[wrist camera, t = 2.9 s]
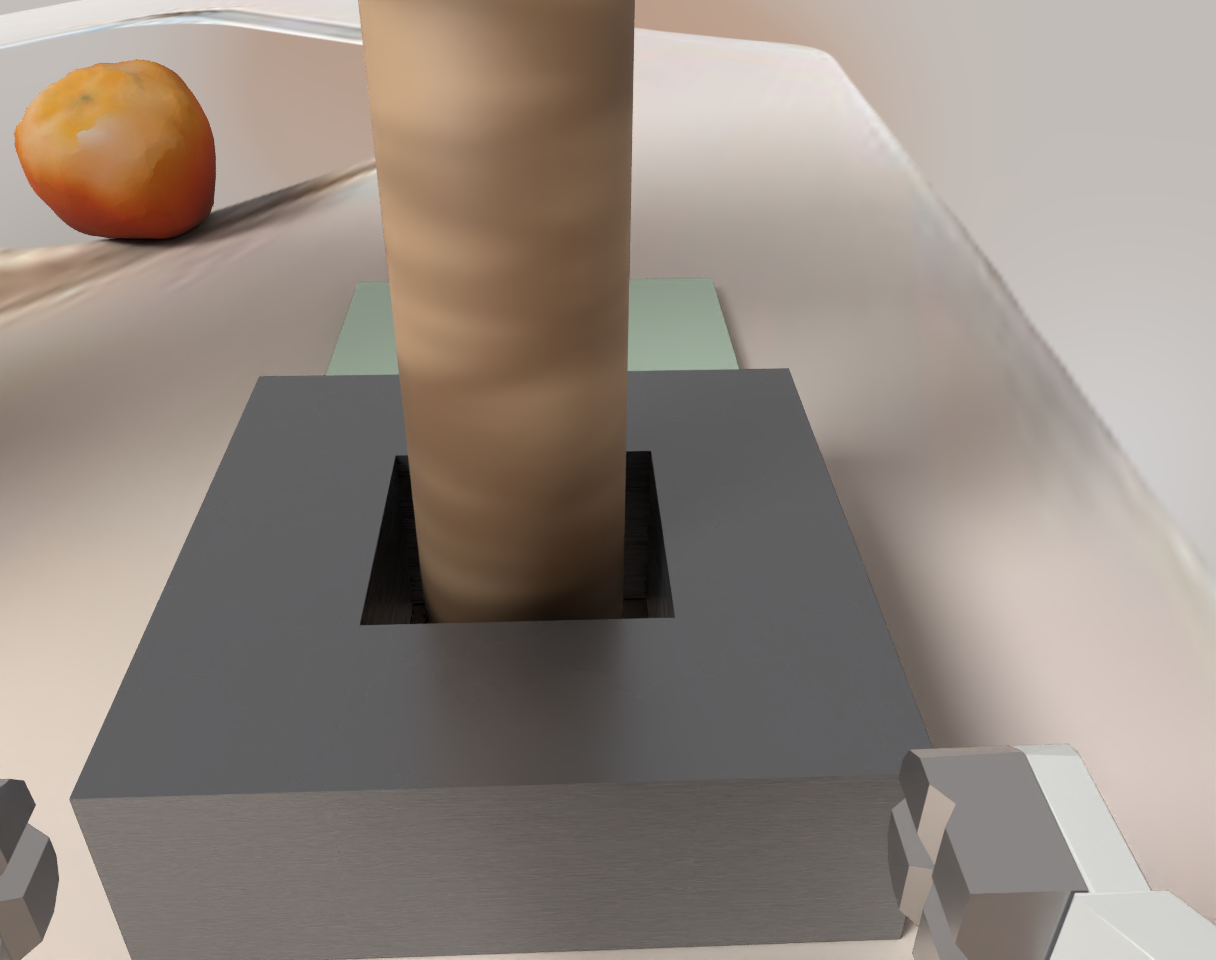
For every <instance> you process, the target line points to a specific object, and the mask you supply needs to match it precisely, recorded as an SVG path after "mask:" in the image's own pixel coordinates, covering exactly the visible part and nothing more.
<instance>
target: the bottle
mask: <svg viewBox="0 0 1216 960" xmlns="http://www.w3.org/2000/svg"><path fill="white" fill-rule="evenodd" d="M358 3H359V12H360V21H361V31H362V40H363V49H364V58H365V67H366V76H367V85H368V95H369V104H370V113H371V122H372V131H373V140H374V149H375V158H376V168H377V177H378V186H379V195H380V204H381V213H382V222H383V232H384V241H385V250H386V259H387V268H388V277H389V286H390V296H391V305H392V314H393V323H394V332H395V341H396V350H397V360H398V369H399V378H400V387H401V396H402V405H403V414H404V423H405V433H406V442H407V451H408V460H409V469H410V478H411V487H412V497H413V506H414V515H415V524H416V533H417V542H418V551H419V561H420V570H421V579H422V588H423V597H424V606H425V615H426V624H436V623H477V622H518V621H559V620H600V619H623V586H624V534H625V481H626V429H627V377H628V324H629V272H630V219H631V167H632V114H633V62H634V10H635V9H634V8H635V6H634V5H635V0H358Z"/></svg>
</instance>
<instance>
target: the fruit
mask: <svg viewBox="0 0 1216 960" xmlns="http://www.w3.org/2000/svg"><path fill="white" fill-rule="evenodd" d="M14 135H15V148H16V151H17V154H18V157H19V160H20V162H21V165H22V168H23V170H24V173H25V175H26V177H27V179H28V181H29V183H30V185H31V187H32V188H33V190H34V191H35V192H36V194H37V195H38V196H39V197H40V198H41V199H42V200H43V201H44V202H45V203H46V204H47V205H48V206H49V207H50V208H51V209H52V210H53V211H54V212H55V213H56V215H57V216H58V217H59V218H60V219H62V220H63V221H64V222H65V223H66V224H67V225H69V226H70V227H72V228H73V229H75V230H77V231H79V232H82V233H84V234H88V235H92V236H100V237H106V238H152V239H168V238H172V237H175V236H179V235H181V234H183V233H185V232H187V231H188V230H190V229H191V228H193V227H195V226H196V225H198V224H199V223H201V222H202V221H203V220H204V219H205V218H206V217H208V216H209V214H210V212H211V209H212V206H213V204H214V191H215V179H216V156H215V146H214V138H213V134H212V131H211V127H210V124H209V122H208V119H207V117H206V115H205V113H204V111H203V109H202V108H201V106H200V104H199V102H198V101H197V99H196V98H195V96H194V95H193V93H192V92H191V91H190V89H189V88H188V87H187V85H186V84H185V83H184V81H183V80H182V79H181V78H180V77H179V76H178V75H177V74H176V73H175V72H173V71H172V70H170V69H168V68H167V67H165V66H163V65H160V64H158V63H155V62H150V61H145V60H133V61H127V62H119V63H99V64H95V65H93V66H91V67H87V68H82V69H76V70H74V71H72V72H70V73H68V74H67V75H66V76H65V77H64V78H62V79H61V80H59V81H57V82H55V83H53V84H51V85H50V86H48V87H47V88H46V89H44V90H43V91H42V92H41V93H39V95H38V96H37V97H36V98H35V99H34V101H33V102H32V103H31V104H30V105H29V107H27V108H26V111H25V114H24V117H23V119H22V121H21V122H20V123H19V124H18V125H17V126H16V129H15V133H14Z"/></svg>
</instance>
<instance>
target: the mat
mask: <svg viewBox="0 0 1216 960" xmlns="http://www.w3.org/2000/svg"><path fill="white" fill-rule="evenodd" d="M723 369H739V367H738V363H737V360H736V357H735V353H734V350H733V347H732V344H731V340H730V337H729V334H728V330H727V327H726V324H725V320H724V317H723V314H722V310H721V307H720V304H719V301H718V297H717V294H716V291H715V287H714V284H713V281H712V278H662V279H629V324H628V371H657V370H723ZM395 374H399V369H398V360H397V350H396V341H395V332H394V323H393V314H392V305H391V296H390V286H389V282H358V283H357V286H356V289H355V292H354V295H353V297H352V300H351V303H350V306H349V309H348V312H347V315H346V318H345V320H344V323H343V326H342V329H341V332H340V335H339V338H338V341H337V343H336V346H335V349H334V352H333V355H332V358H331V361H330V364H329V366H328V369H327V372H326V375H325V376H330V375H395Z"/></svg>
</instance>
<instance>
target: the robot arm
mask: <svg viewBox="0 0 1216 960" xmlns="http://www.w3.org/2000/svg"><path fill="white" fill-rule="evenodd" d="M899 780H900V783H901V786H902V789H903V792H904V795H905V798H904V799H903V800H902V801H901V802H900V803H899V804H897V805H896V806H895V807H894V808H893V809H892V810H891V816H890V821H889V827H888V833H887V841H888V865H889V870H890V876H891V881H892V886H893V890H894V893H895V897H896V900H897V904H898V907H899V910H900V911H901V912H902V913H904V914H905V915H906V916H907V917H908V918H909V919H910V920H911V921H912V922H913V923H915V924H916V925H917V926H918V931H917V935H916V939H915V943H914V947H913V951H912V954H913V957H914V960H1216V926H1215V925H1214V924H1213V923H1211V922H1210V921H1209V920H1207V919H1206V918H1205V917H1203V916H1202V915H1201V914H1199V913H1198V912H1197V911H1195V910H1194V909H1193V908H1191V907H1190V906H1189V905H1187V904H1186V903H1185V902H1183V901H1182V900H1181V899H1179V898H1178V897H1177V896H1175V895H1174V894H1173V893H1171V892H1170V891H1169V890H1151V888H1150V886H1149V884H1148V882H1147V880H1146V878H1145V876H1144V875H1143V873H1142V871H1141V869H1140V867H1139V865H1138V863H1137V861H1136V860H1135V858H1134V856H1133V854H1132V852H1131V850H1130V848H1129V846H1128V845H1127V843H1126V841H1125V839H1124V837H1123V835H1122V833H1121V832H1120V830H1119V828H1118V826H1117V824H1116V822H1115V820H1114V818H1113V817H1112V815H1111V813H1110V811H1109V809H1108V807H1107V805H1106V803H1105V802H1104V800H1103V798H1102V796H1101V794H1100V792H1099V790H1098V788H1097V787H1096V785H1095V783H1094V781H1093V779H1092V777H1091V775H1090V774H1089V772H1088V770H1087V768H1086V766H1085V764H1084V762H1083V760H1082V759H1081V757H1080V755H1079V753H1078V752H1077V751H1076V750H1075V749H1074V748H1072V747H1071V746H1070V745H1069V744H1051V745H1022V746H1014V747H1011V746H1009V745H1006V746H983V747H960V748H937V749H913V750H909V751H908V752H907V754H906V755H905V757H904V758H903V761H902V765H901V769H900V774H899ZM35 806H36V804H35V802H34V800H33V798H32V796H31V794H30V792H29V790H28V788H27V786H26V784H25V782H24V781H23V780H14V779H0V960H21V959H22V958H23V957H24V956H26V955H27V954H28V953H29V952H30V951H31V950H33V949H34V948H35V947H36V946H37V945H38V944H40V943H41V942H42V941H43V938H44V936H45V933H46V930H47V928H48V925H49V923H50V920H51V918H52V915H53V913H54V908H55V901H56V895H57V888H58V882H59V875H58V866H57V857H56V853H55V851H54V848H53V846H52V843H51V841H50V838H49V837H48V836H46V835H45V834H43V833H42V832H40V831H39V830H37V829H36V828H34V827H33V826H31V825H30V824H28V820H29V818H30V816H31V814H32V812H33V810H34V808H35Z"/></svg>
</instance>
